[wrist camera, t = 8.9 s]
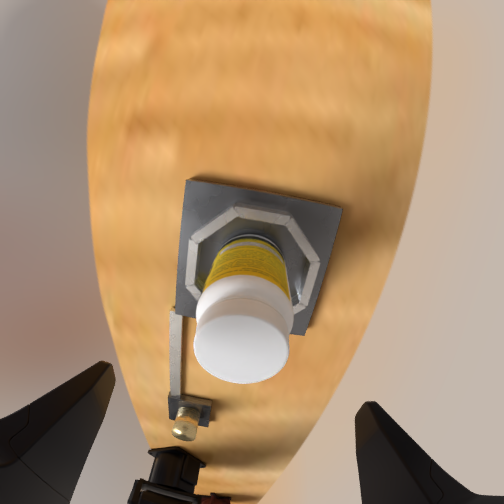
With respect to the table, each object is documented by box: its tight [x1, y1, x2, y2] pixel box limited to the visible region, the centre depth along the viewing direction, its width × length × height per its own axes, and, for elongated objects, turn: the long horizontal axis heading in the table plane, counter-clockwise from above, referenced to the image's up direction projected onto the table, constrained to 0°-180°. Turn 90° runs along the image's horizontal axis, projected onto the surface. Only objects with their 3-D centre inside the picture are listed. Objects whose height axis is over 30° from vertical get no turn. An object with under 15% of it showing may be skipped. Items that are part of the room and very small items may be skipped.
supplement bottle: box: [193, 234, 294, 384], centre depth 15 cm, size 5×5×8 cm
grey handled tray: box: [168, 179, 343, 441], centre depth 20 cm, size 25×11×4 cm, turn 170°
